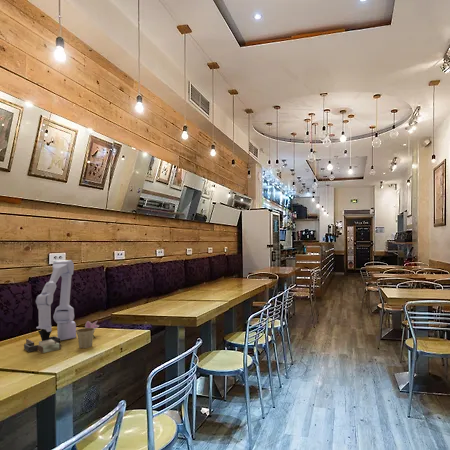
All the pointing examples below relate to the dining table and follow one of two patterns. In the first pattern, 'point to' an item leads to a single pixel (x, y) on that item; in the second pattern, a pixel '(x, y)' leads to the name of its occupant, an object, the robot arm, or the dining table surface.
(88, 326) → the lily
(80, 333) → the flower pot
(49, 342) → the cream block
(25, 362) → the dining table surface
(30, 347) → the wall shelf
